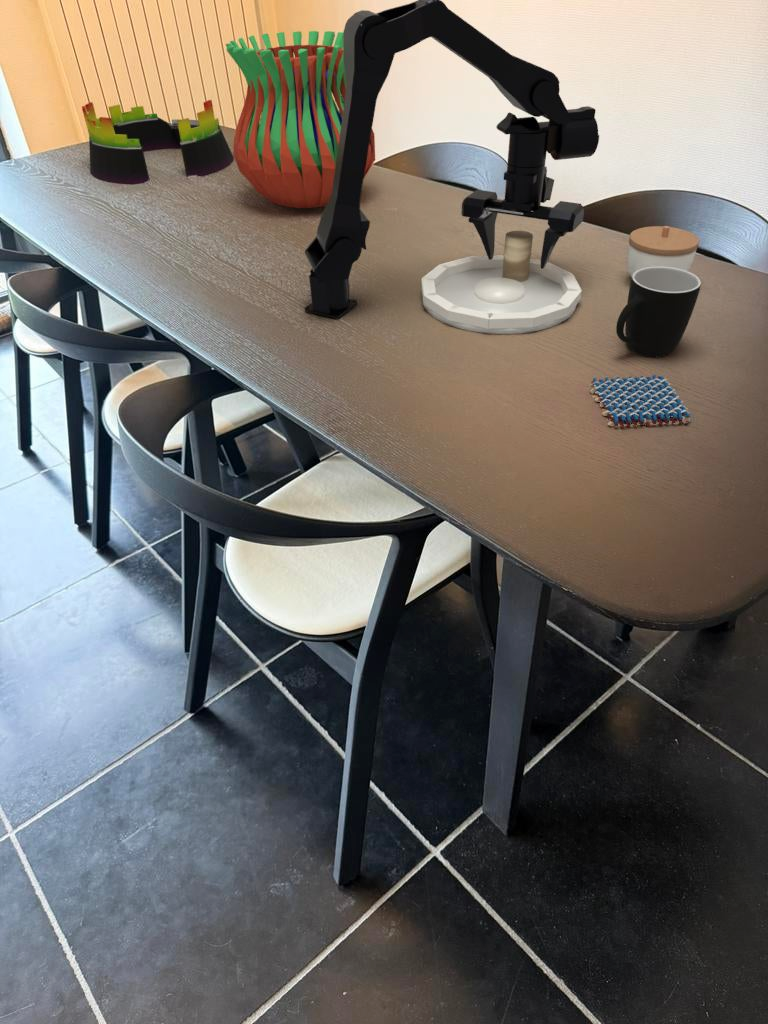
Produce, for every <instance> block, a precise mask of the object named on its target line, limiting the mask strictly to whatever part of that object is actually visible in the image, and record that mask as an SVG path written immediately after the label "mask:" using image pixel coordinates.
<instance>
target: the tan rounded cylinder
mask: <svg viewBox="0 0 768 1024" xmlns="http://www.w3.org/2000/svg"><path fill="white" fill-rule="evenodd" d="M533 238H534V234H533V233H532V232H529V231H525V230H511V231H509V232H507V233H505V239H504V249H503V251H504V252H503V255H504V262H503V274H502V278H509V279H513V280H516V281H519V282H523V281H526V280H527V279H528V277H529V268H530V258H531V259H532V248H533Z"/></svg>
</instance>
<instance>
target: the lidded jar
mask: <svg viewBox="0 0 768 1024" xmlns="http://www.w3.org/2000/svg"><path fill="white" fill-rule="evenodd" d="M699 244H700V239H699V237H698V236H697V235H696V234H694V233H692V232H690V231H688V230H685V229H682V228H678V227H672V226H669V225H664V226H660V225H659V226H658V225H656V226H655V225H653V226H644V227H640V228H637V229H635V230H633V231H631V232H630V234H629V237H628V246H627V251H626V253H627V254H626V266H627V270H628V273H629V275H630V277H631V278H632V275H633V274H634V273H635V272H636V271H637V270H640V269H642V268H647V267H656V266H662V267H673V268H678V269H682V270H685V271H688V272H690V271H689V270H690V268H691V267H692V265H693V262H694V259H695V257H696V253H697V250H698V247H699Z"/></svg>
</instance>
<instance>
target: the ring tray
mask: <svg viewBox="0 0 768 1024" xmlns="http://www.w3.org/2000/svg"><path fill="white" fill-rule="evenodd" d="M503 262H504V254H496V255H495V254H494V256H493V258H492V259H491V260H489V258H488V256H487V255H470V256H467V257H462V258H457V259H455V260H451V261H447V262H444V263H439V264H438V265H436V266H435V267H434V268H433V269H432V270H431V271H429V272H428V273H426V275H424V276H422V278H421V281H420V283H421V294H422V304H423V308H424V309H425V311H427V312H428V313H429V315H431V316H432V317H433V318H435V319H437V320H438V321H440V322H441V323H444V324H446V325H447V326H448V325H449V326H451V327H454V328H457V329H460V330H461V329H462V330H464V331H468V332H473V333H474V332H475V333H479V334H480V333H482V334H489V335H491V334H493V335H494V334H495V335H516V334H528V333H532V332H539V331H543V330H546V329H551V328H552V327H555V326H557V325H559V324H562V323H564V322H565V321H566V320H568V319H570V317H571V316H572V315H573V314H575V311H576V309H577V304H578V303H579V302H580V301H581V299H582V298H581V297H582V291H583V290H582V288H581V286H580V284H579V282H578V281H577V279H576V277H575V275H574V274H573V273H571V272H570V271H568V270H566V269H563V268H561V267H559V266H557V265H555V264H553V263H551V262H549V261H547V264H546V266H545V267H544V268H543V269H541V259H536V258H532V257H531V258H530V268H529V277H528V279H527V280H526V281H523V282H519V281H516V280H513V279H509V278H502V274H503Z"/></svg>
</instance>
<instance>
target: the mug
mask: <svg viewBox="0 0 768 1024" xmlns="http://www.w3.org/2000/svg"><path fill="white" fill-rule="evenodd" d="M700 279H701V278H699V277H698V276H697V275H696V274H695V273H693V272H690V271H685V270H682V269H678V268H673V267H662V266H656V267H647V268H642V269H640V270H637V271H636V272H635V273H634V274H633V275H632V277H631V279H630V284H629V288H628V290H629V291H628V295H627V303H626V305H625V307H623V309H622V310H621V312H620V314H619V315H618V318H617V321H616V327H615V330H616V335H617V337H618V339H619V340H620V341H621V342H623V343H626V344H627V347H628V348H629V350H630V351H632V352H633V353H636V354H638V355H641V356H644V357H649V356H650V357H651V358H659V357H658V356H661V357H664V355H665V356H668V355H669V353H670V354H671V353H672V352H673V351H675V349H676V348H677V347H678V345H679V344H680V342H681V340H682V338H683V336H684V333H685V331H686V329H687V327H688V324H689V323H690V319H691V317H692V314H693V312H694V308H695V306H696V304H697V300H698V297H699V294H700V291H701V289H700V288H701V286H702V283H701V282H702V281H701V280H700ZM624 330H625V331H624ZM667 354H668V355H667ZM656 356H657V357H656Z"/></svg>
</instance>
